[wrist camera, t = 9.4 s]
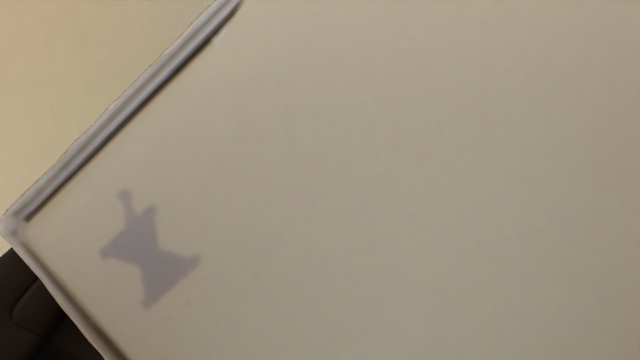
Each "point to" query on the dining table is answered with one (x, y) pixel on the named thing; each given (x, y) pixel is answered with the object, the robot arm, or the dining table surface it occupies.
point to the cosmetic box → (358, 187)
